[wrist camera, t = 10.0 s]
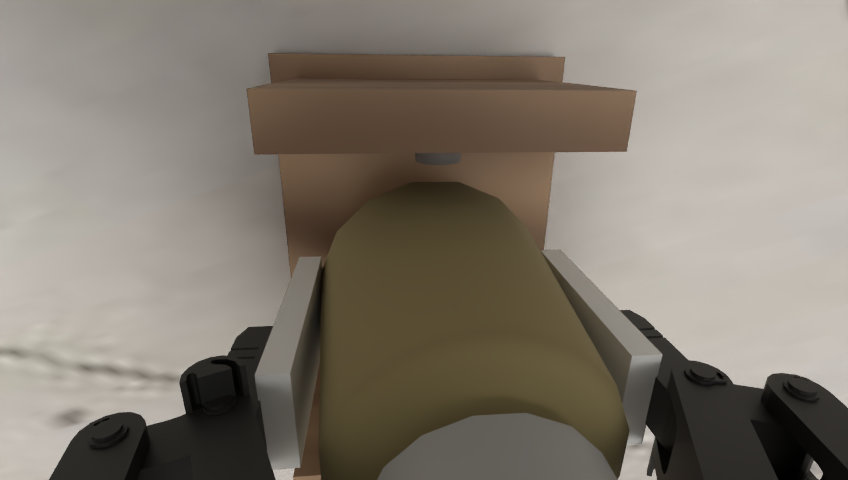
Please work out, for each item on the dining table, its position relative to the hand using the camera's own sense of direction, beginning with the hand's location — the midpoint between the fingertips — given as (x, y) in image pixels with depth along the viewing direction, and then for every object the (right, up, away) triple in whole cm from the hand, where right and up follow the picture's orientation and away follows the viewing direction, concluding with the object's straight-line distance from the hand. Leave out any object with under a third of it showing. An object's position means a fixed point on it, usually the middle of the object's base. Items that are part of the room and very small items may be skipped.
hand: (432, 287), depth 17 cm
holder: (-1, +2, +6) cm, 6 cm away
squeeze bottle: (0, +1, +4) cm, 4 cm away
